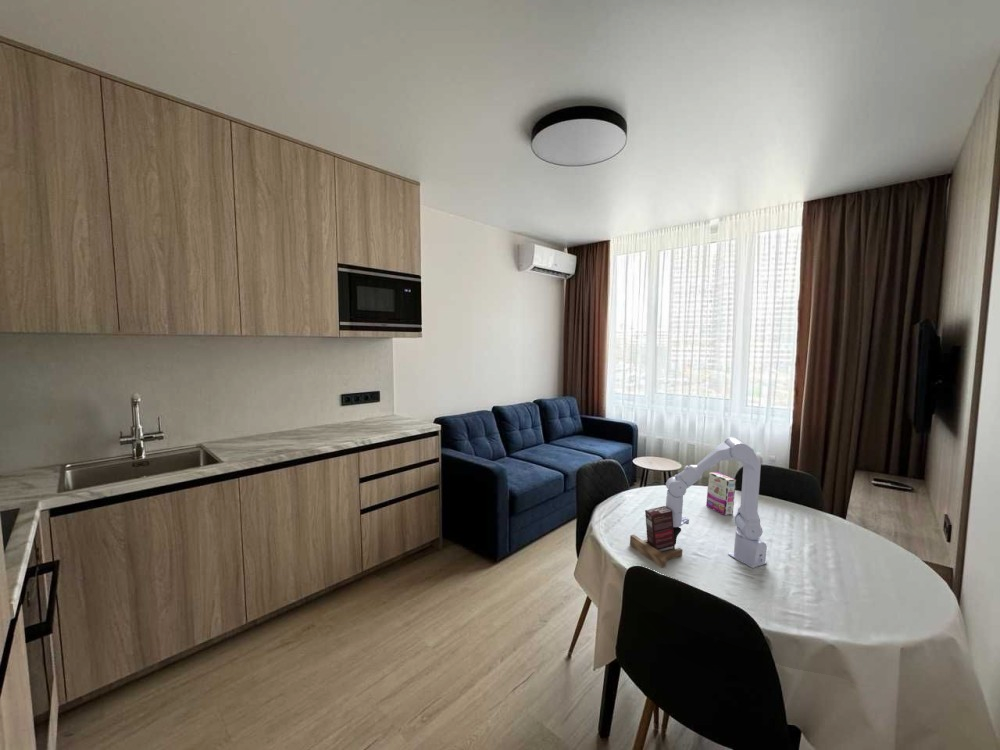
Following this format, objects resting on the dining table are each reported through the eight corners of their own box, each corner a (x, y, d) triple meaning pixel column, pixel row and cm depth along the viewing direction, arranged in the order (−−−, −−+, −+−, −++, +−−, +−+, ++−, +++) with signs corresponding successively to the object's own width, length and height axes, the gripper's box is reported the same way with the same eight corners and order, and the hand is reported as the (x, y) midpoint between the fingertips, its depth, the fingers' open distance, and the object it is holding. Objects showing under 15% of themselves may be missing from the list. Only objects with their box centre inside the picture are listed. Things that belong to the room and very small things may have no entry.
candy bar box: (733, 514, 185) (736, 479, 183) (724, 516, 183) (728, 480, 182) (714, 504, 196) (716, 471, 194) (705, 505, 194) (708, 472, 192)
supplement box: (667, 544, 155) (665, 505, 153) (675, 551, 151) (673, 510, 148) (646, 549, 154) (644, 509, 151) (654, 556, 149) (651, 515, 147)
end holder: (688, 559, 147) (689, 549, 147) (662, 567, 142) (662, 556, 141) (654, 538, 161) (655, 529, 161) (629, 545, 156) (630, 535, 156)
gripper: (679, 502, 159) (676, 536, 161) (651, 508, 153) (648, 543, 155) (694, 510, 153) (691, 544, 154) (665, 516, 147) (663, 552, 148)
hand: (671, 544), depth 154 cm, fingers closed, pressing on supplement box
